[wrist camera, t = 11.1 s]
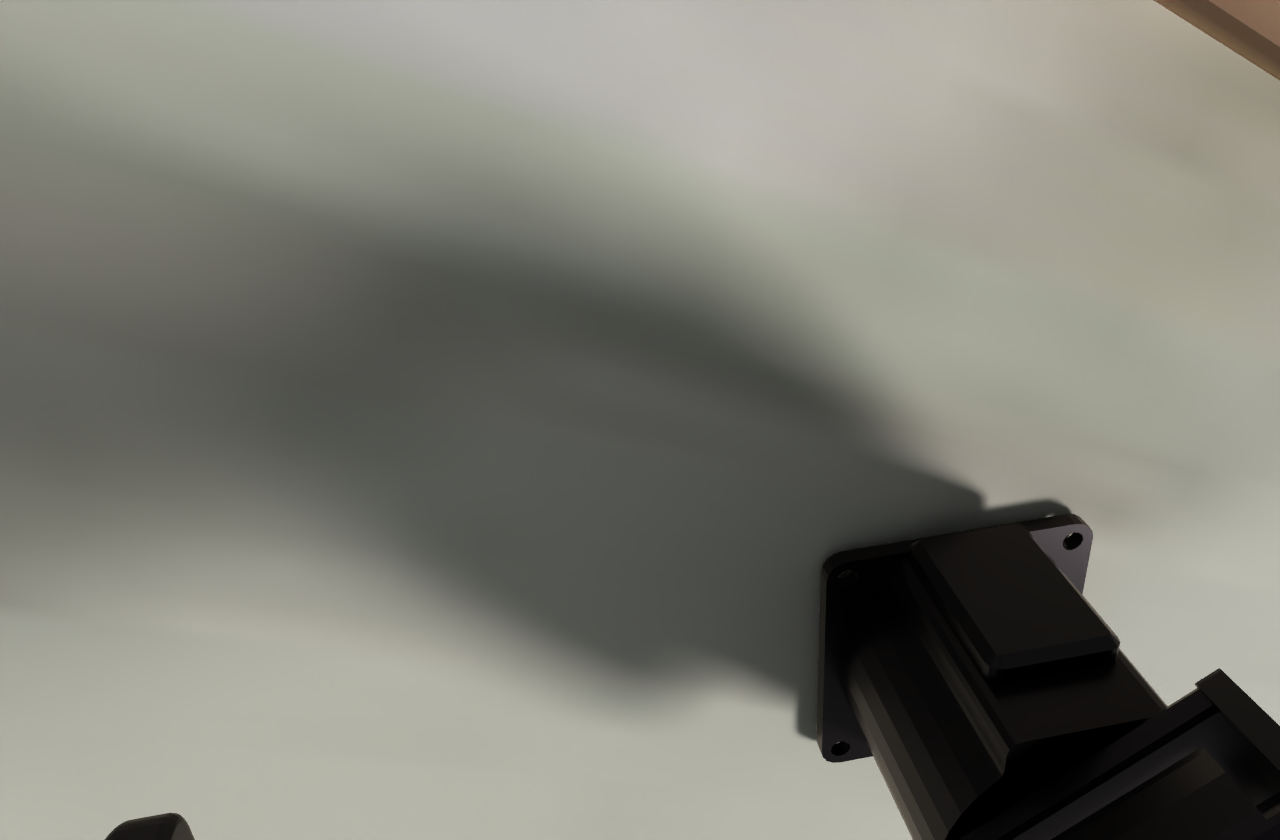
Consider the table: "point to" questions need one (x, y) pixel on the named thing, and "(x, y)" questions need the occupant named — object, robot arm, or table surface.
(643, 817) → the table surface
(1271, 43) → the walnut block
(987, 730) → the robot arm
